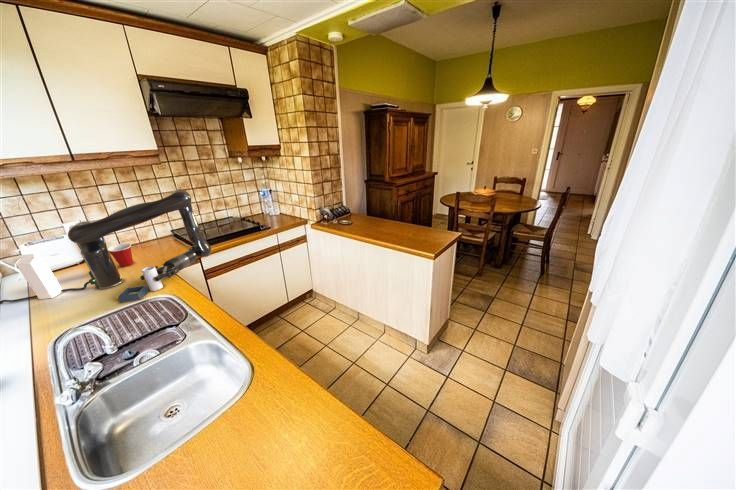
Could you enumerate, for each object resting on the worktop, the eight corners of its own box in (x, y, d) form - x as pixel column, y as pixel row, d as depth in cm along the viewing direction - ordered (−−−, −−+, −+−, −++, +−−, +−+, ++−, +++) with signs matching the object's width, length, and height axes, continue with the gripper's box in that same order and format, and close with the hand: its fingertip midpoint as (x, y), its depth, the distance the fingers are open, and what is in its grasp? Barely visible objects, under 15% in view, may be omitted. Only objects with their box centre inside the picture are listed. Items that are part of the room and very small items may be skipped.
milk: (52, 298, 127) (26, 257, 118) (38, 299, 127) (11, 258, 118) (64, 291, 133) (40, 251, 124) (51, 292, 132) (26, 252, 123)
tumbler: (148, 292, 127) (139, 272, 123) (153, 286, 132) (144, 267, 128) (160, 290, 128) (151, 270, 124) (165, 284, 133) (156, 265, 129)
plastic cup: (125, 269, 152) (116, 250, 147) (110, 268, 154) (101, 249, 149) (143, 261, 161) (135, 243, 157) (129, 260, 164) (121, 242, 159)
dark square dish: (120, 302, 120) (117, 297, 119) (129, 293, 127) (127, 288, 126) (140, 299, 122) (137, 293, 120) (148, 290, 129) (146, 285, 127)
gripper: (164, 256, 141) (133, 271, 126) (186, 257, 138) (157, 273, 123) (169, 269, 144) (139, 284, 129) (190, 270, 141) (163, 286, 126)
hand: (148, 279), depth 126 cm, fingers open, 8 cm apart
